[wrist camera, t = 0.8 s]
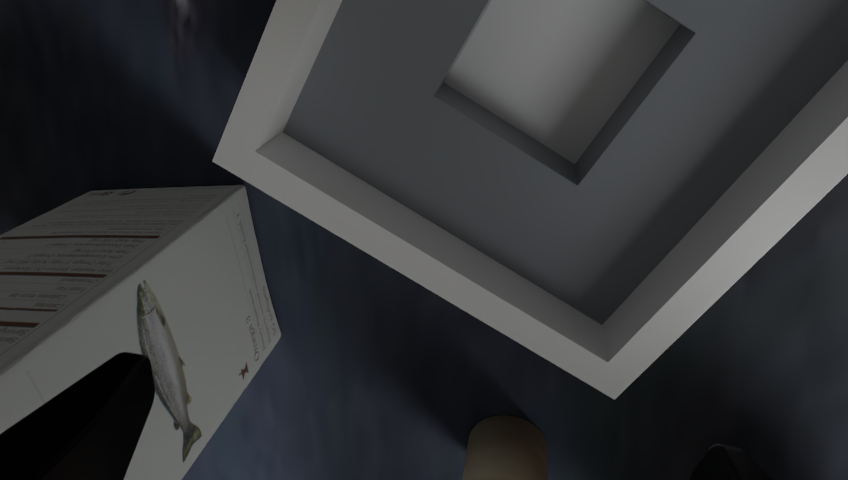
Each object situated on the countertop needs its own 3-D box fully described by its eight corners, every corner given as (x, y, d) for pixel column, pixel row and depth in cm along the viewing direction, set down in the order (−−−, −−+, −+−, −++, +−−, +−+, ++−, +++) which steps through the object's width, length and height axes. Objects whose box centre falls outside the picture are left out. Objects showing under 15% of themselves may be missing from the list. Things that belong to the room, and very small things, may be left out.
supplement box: (287, 337, 26) (93, 629, 15) (138, 332, 27) (-140, 594, 16) (251, 178, 23) (-29, 396, 12) (85, 182, 24) (-304, 380, 13)
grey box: (922, -41, 16) (1065, -38, 12) (600, 311, 23) (614, 399, 18) (486, -344, 15) (462, -466, 11) (280, 117, 21) (212, 161, 17)
